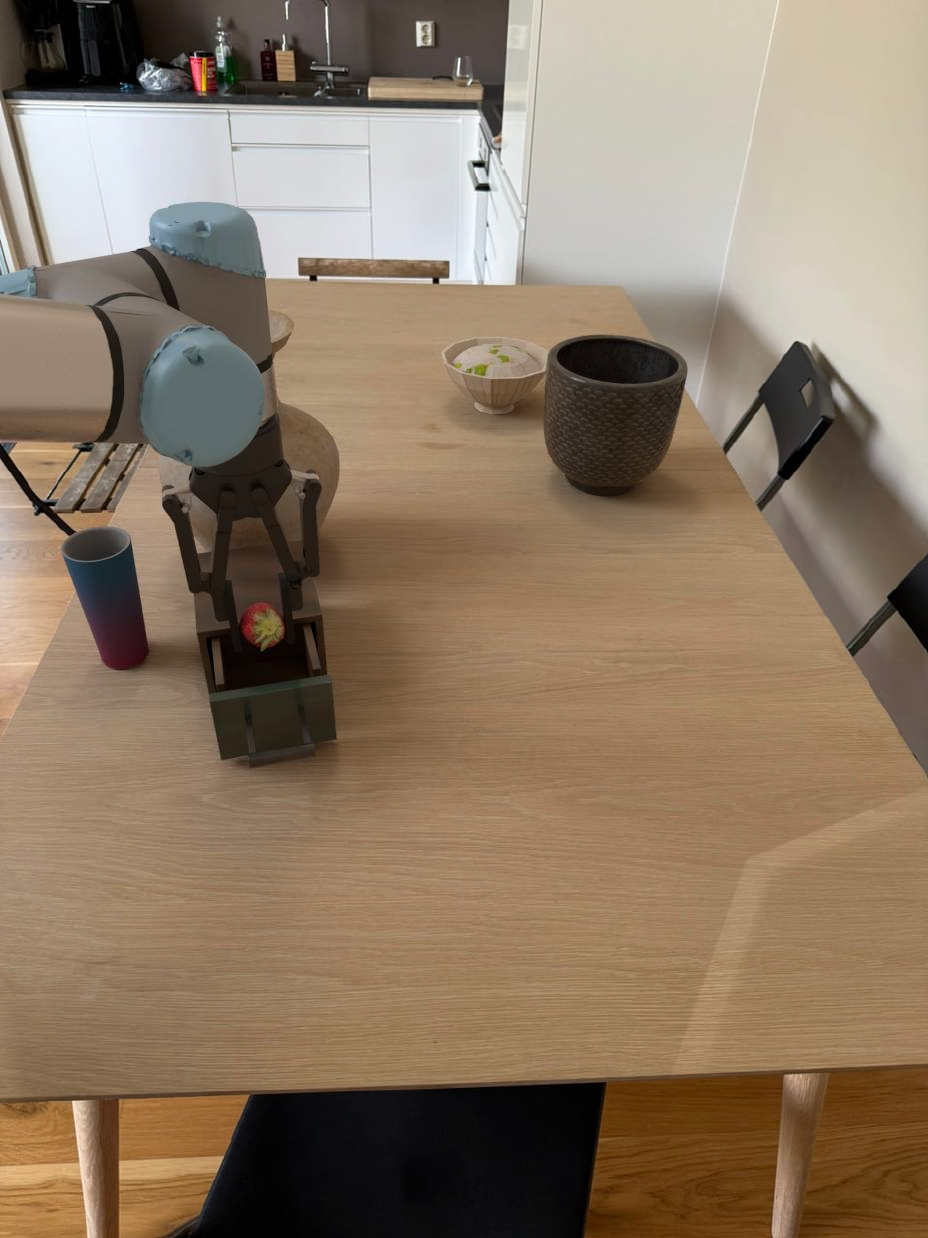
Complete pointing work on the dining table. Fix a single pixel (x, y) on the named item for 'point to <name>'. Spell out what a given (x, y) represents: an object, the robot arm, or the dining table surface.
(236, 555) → the cabinet
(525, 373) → the bowl
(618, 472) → the planter
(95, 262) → the robot arm
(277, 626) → the fruit
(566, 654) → the dining table surface
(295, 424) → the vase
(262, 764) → the drawer
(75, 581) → the cup
